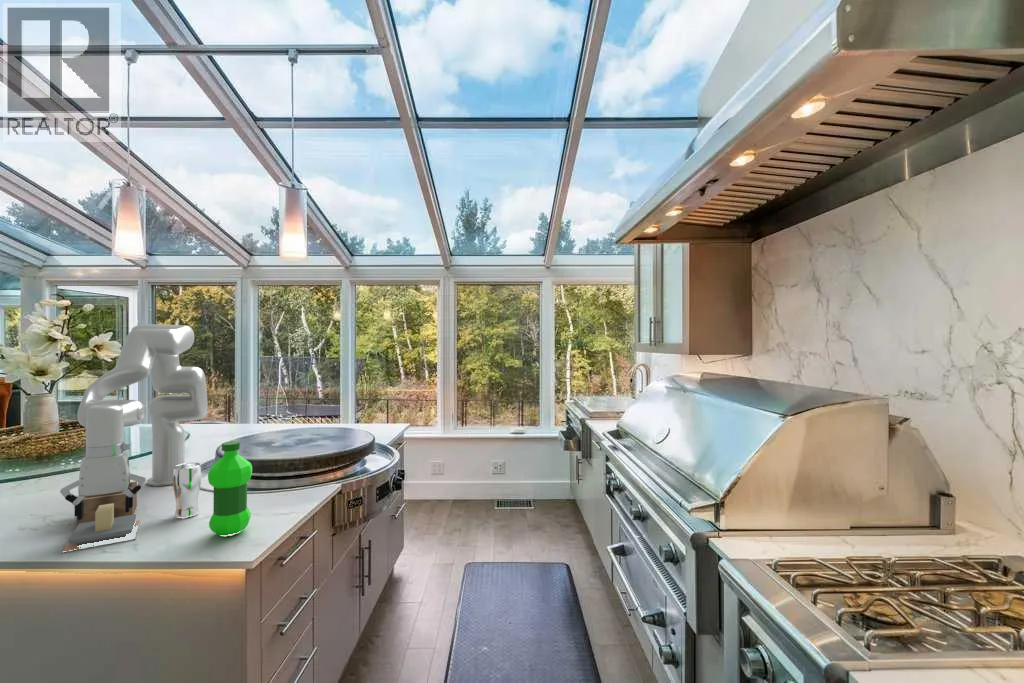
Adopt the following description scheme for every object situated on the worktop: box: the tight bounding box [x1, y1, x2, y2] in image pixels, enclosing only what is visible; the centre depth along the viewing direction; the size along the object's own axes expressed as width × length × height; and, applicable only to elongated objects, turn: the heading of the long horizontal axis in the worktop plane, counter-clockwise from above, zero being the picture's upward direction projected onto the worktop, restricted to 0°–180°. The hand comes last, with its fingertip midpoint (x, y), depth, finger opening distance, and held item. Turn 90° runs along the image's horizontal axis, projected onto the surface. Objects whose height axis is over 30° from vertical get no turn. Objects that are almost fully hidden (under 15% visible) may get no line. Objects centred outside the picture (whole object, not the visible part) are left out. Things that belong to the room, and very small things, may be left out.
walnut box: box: [76, 481, 138, 527], centre depth 135 cm, size 12×12×8 cm
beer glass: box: [172, 462, 202, 518], centre depth 138 cm, size 7×7×15 cm
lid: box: [68, 503, 137, 546], centre depth 123 cm, size 12×12×7 cm
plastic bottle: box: [207, 440, 253, 536], centre depth 126 cm, size 10×10×25 cm
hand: (104, 514), depth 123 cm, fingers open, 9 cm apart
